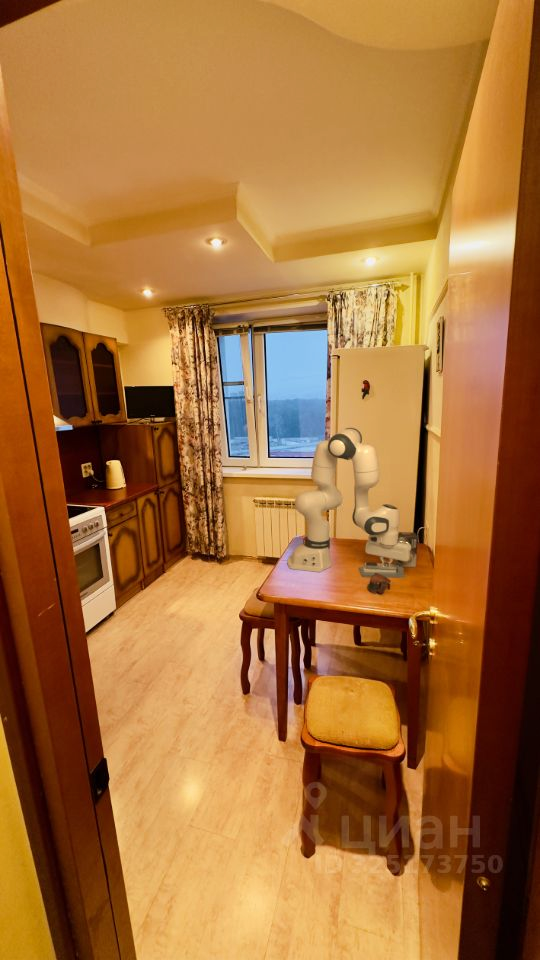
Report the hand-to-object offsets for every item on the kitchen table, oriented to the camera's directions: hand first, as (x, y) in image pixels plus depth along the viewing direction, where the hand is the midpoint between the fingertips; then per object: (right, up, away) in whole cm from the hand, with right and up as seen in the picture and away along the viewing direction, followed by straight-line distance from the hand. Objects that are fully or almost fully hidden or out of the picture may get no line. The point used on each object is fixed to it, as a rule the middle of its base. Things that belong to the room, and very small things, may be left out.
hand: (386, 565), depth 173 cm
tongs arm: (-2, -1, +1) cm, 2 cm away
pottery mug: (-8, -8, -14) cm, 18 cm away
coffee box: (+13, -2, +10) cm, 16 cm away
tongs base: (-2, -4, +1) cm, 5 cm away
